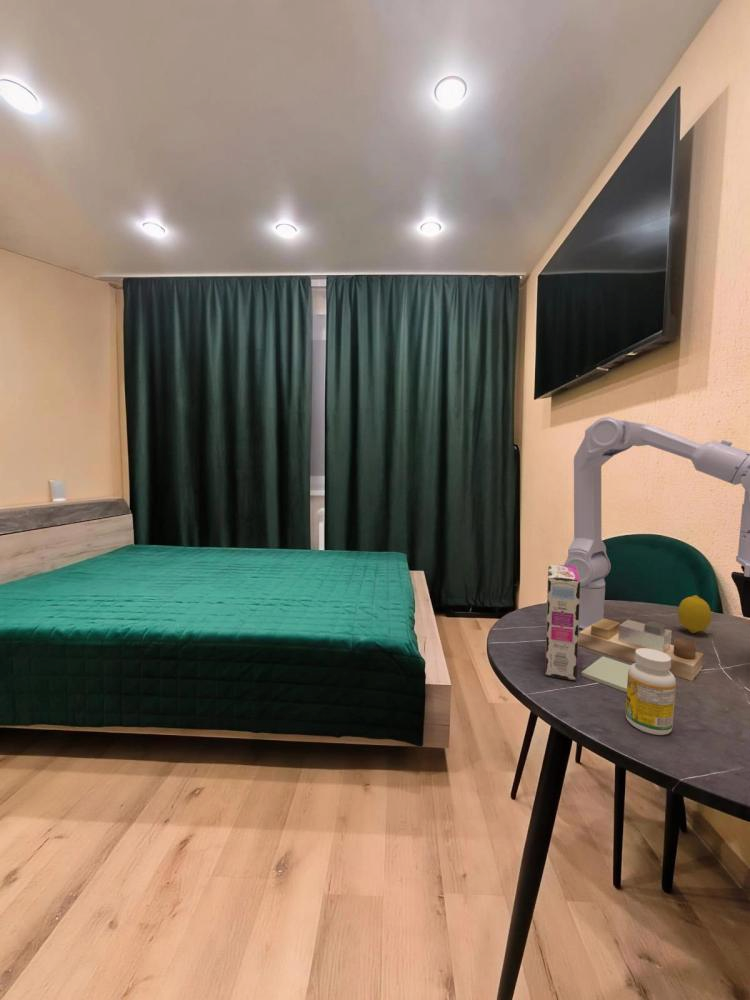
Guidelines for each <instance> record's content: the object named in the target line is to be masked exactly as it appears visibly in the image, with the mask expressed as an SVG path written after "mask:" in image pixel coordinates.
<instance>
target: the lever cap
mask: <svg viewBox="0 0 750 1000" xmlns="http://www.w3.org/2000/svg"><path fill="white" fill-rule="evenodd" d="M666 626H667V625H666V624H663V623H659V622H655V621H651V620H649V621H648V622H646V623H643V622H639V621H635V620H630V619H626V620H625V621H623V622H622V623H620V625H619V637H618V641H619V642H622V643H626V644H629V645H633V646H636V647H639V648H647V649H653V650H657V651H660V652H663V653H665V652H666V651H667V650H668V649H669V648H670V647H671V645H672V633H673V632H672V631H673V630H671V629H666Z"/></svg>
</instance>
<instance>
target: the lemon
mask: <svg viewBox="0 0 750 1000" xmlns="http://www.w3.org/2000/svg"><path fill="white" fill-rule="evenodd" d="M677 617H678V621H679V623H680V625H682V626H683V627H684V628H685V629H687V630H688V631H689V632H690V633H691V634H696V633H697V632H702V631H705V630H706V629H707V628H708V627H709V626H710V624H711V621H712V611H711V608H710V605H709V603H708V602H707V601H706V600H704V599H703V598H701V597H700V596H698V595H692V596H687V597H686V598H684V599H682V600H681V601H680V603H679V606H678V609H677Z"/></svg>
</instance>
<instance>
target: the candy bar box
mask: <svg viewBox="0 0 750 1000" xmlns="http://www.w3.org/2000/svg"><path fill="white" fill-rule="evenodd" d="M547 568H548V570H547V584H546V585H547V590H546V591H547V593H546V594H547V595H546V629H545V631H546V633H545V671H544V673H545V676H548V677H554V678H561V679H564V680H565V679H566V680H570V681H577V680H578V679H577V678H578V659H579V658H578V653H579V645H578V640H579V632H580V631H579V630H580V628H579V603H580V579H579V575H578V571H577V567H575V566H566V565H564V564H548V567H547Z"/></svg>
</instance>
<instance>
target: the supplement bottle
mask: <svg viewBox="0 0 750 1000" xmlns="http://www.w3.org/2000/svg"><path fill="white" fill-rule="evenodd" d="M635 662H636V663H634V662H633V663H632V664H630V665H631V666H630V667H629V669H628V682H627V692H626V696H625V697H626V699H625V701H626V702H625V718H626V720H627V721H628V723H630V724H631V726H633V727H635V728H636V729H638V730H639V731H641V732H644V733H647V734H650V735H655V736H656V735H657V736H665V735H668V734H670V733H671V732H672V731H673V727H674V726H673V725H674V713H675V700H676V699H675V698H676V687H677V686H676V685H677V680H676V676H675V675H673V674H672V673H671V672H670V671H669V670H670V668H671V658H670V656H668V655H667V654H665V653H663V652H660V651H657V650H653V649H647V648H639V649H636V651H635Z"/></svg>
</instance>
